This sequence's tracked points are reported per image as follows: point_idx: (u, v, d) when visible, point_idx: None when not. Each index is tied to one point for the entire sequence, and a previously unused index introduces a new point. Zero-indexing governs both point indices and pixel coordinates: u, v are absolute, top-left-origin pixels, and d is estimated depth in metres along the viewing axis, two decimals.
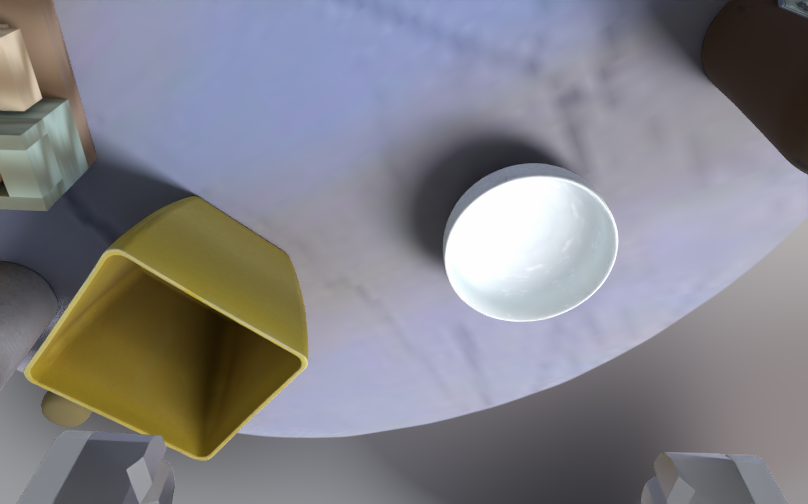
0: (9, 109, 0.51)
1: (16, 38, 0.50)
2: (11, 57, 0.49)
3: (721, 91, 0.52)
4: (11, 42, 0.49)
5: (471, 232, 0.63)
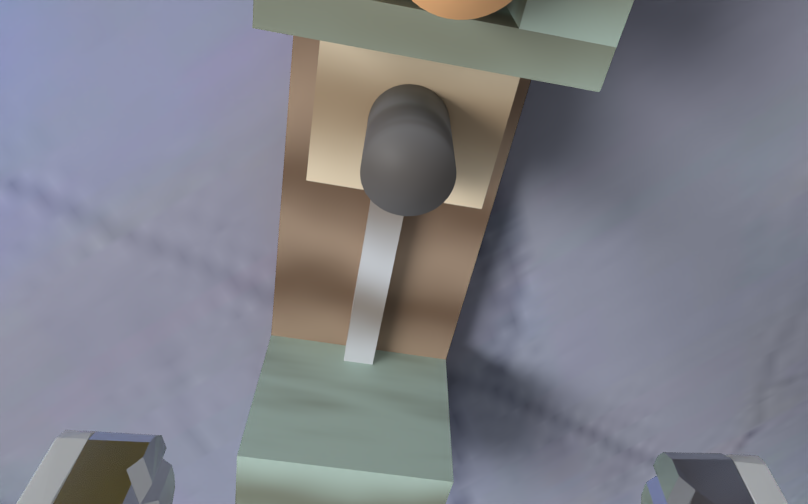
0: None
1: None
2: None
3: None
4: None
5: None
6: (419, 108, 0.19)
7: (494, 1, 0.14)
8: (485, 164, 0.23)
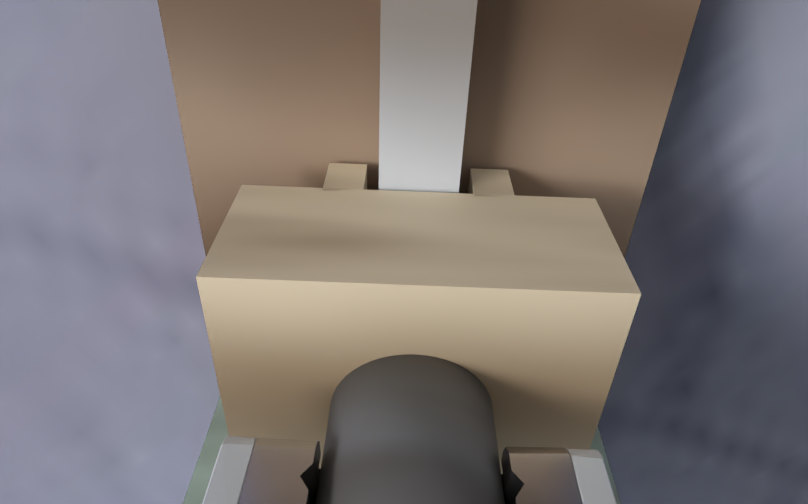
0: (274, 284, 0.10)
1: None
2: None
3: None
4: None
5: None
6: (421, 467, 0.09)
7: None
8: None
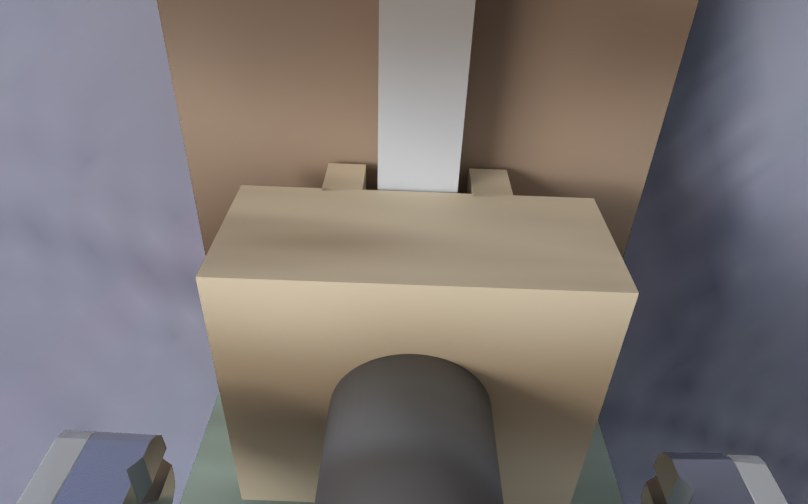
0: (273, 284, 0.10)
1: None
2: None
3: None
4: None
5: None
6: (419, 466, 0.09)
7: None
8: (568, 453, 0.12)
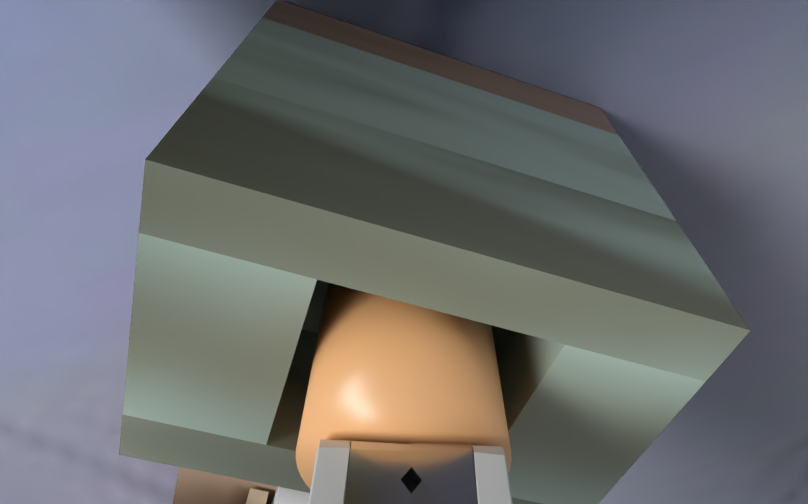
0: None
1: None
2: None
3: None
4: None
5: None
6: None
7: None
8: None
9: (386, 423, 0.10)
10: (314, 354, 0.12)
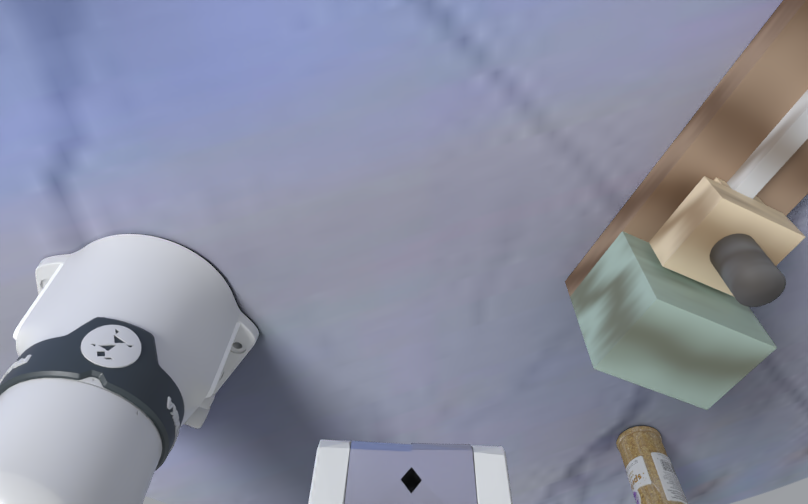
0: (736, 206, 0.39)
1: (657, 242, 0.43)
2: (674, 242, 0.42)
3: None
4: (662, 248, 0.43)
5: None
6: (765, 255, 0.38)
7: None
8: None
9: None
10: None
